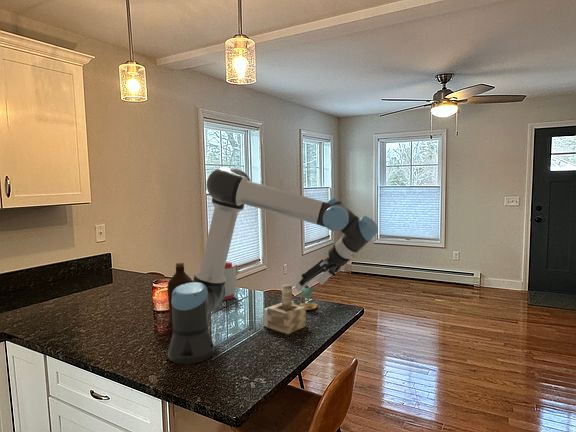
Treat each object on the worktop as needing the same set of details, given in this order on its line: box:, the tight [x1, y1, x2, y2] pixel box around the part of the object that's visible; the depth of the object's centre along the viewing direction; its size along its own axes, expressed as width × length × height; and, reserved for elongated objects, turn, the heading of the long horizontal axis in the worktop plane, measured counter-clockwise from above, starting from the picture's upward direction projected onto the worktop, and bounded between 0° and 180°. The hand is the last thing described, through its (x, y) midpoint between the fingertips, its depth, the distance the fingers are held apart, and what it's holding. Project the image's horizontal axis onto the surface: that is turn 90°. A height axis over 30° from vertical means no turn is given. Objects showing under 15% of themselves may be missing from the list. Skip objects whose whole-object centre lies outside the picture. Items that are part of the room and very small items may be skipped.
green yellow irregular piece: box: [296, 284, 319, 311], centre depth 179 cm, size 10×18×15 cm, turn 139°
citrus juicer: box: [223, 261, 240, 301], centre depth 197 cm, size 16×17×20 cm
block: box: [266, 302, 307, 335], centre depth 156 cm, size 11×11×8 cm
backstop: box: [263, 300, 295, 328], centre depth 163 cm, size 16×2×7 cm, turn 139°
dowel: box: [281, 283, 293, 311], centre depth 155 cm, size 4×4×14 cm
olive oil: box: [166, 262, 193, 326], centre depth 162 cm, size 11×11×25 cm
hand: (308, 285), depth 148 cm, fingers open, 13 cm apart
